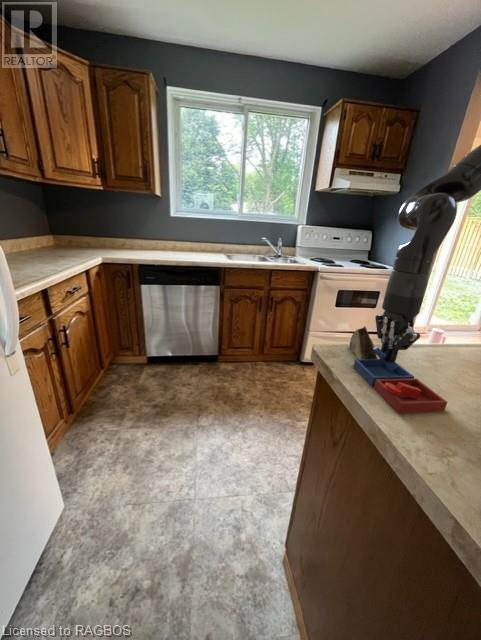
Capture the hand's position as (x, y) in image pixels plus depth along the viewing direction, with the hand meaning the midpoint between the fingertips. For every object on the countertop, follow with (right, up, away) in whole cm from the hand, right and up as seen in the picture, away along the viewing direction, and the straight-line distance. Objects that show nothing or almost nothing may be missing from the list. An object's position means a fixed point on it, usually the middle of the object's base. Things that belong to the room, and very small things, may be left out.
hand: (386, 359), depth 67 cm
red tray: (0, -8, -7) cm, 11 cm away
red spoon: (-2, -6, -8) cm, 10 cm away
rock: (-1, -1, +11) cm, 11 cm away
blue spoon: (-1, 0, 0) cm, 1 cm away
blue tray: (-1, -4, +1) cm, 5 cm away
